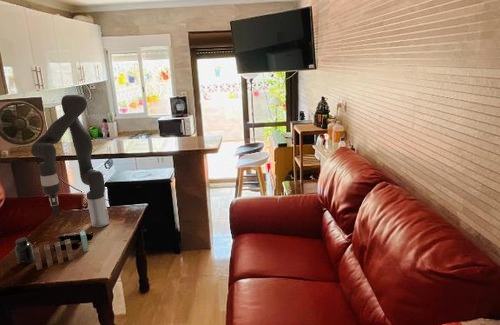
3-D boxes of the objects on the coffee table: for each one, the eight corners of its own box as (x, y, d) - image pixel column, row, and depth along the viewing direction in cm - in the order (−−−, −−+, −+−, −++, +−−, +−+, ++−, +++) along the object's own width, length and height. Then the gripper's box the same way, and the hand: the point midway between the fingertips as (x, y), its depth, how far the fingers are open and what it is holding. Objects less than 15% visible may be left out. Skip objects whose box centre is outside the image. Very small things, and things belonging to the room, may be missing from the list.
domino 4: (72, 255, 180) (69, 238, 178) (74, 259, 176) (70, 242, 173) (67, 256, 179) (64, 240, 176) (69, 260, 175) (65, 244, 172)
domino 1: (41, 263, 173) (38, 247, 171) (42, 268, 169) (38, 251, 167) (36, 265, 172) (32, 248, 170) (37, 270, 168) (33, 253, 166)
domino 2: (52, 260, 176) (48, 244, 173) (53, 265, 172) (49, 248, 169) (47, 262, 175) (43, 245, 172) (48, 267, 170) (44, 250, 168)
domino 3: (62, 257, 178) (59, 241, 175) (63, 262, 174) (60, 245, 171) (57, 259, 177) (54, 242, 174) (58, 263, 173) (55, 247, 170)
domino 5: (87, 246, 188) (84, 230, 185) (88, 250, 184) (85, 234, 181) (82, 247, 187) (79, 231, 184) (84, 251, 183) (81, 235, 180)
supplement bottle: (23, 258, 179) (17, 236, 175) (37, 257, 179) (32, 235, 176) (15, 266, 172) (9, 243, 169) (30, 265, 173) (25, 242, 169)
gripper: (59, 185, 172) (66, 216, 177) (57, 177, 184) (63, 206, 189) (41, 188, 169) (48, 220, 174) (41, 180, 181) (47, 210, 185)
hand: (56, 213), depth 181 cm, fingers open, 8 cm apart
